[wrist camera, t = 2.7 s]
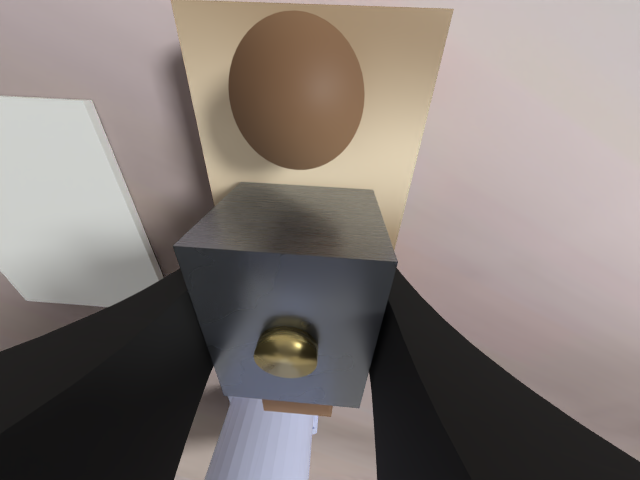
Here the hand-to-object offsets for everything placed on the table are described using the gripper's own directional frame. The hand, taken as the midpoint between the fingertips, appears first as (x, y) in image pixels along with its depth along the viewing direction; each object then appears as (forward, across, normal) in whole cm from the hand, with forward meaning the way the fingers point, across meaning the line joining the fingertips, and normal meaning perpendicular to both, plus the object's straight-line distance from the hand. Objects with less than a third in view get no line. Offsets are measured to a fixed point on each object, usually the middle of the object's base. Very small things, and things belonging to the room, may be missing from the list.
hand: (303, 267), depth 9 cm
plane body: (+3, 0, 0) cm, 3 cm away
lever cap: (+1, 0, 0) cm, 1 cm away
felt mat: (+3, +14, +1) cm, 14 cm away
